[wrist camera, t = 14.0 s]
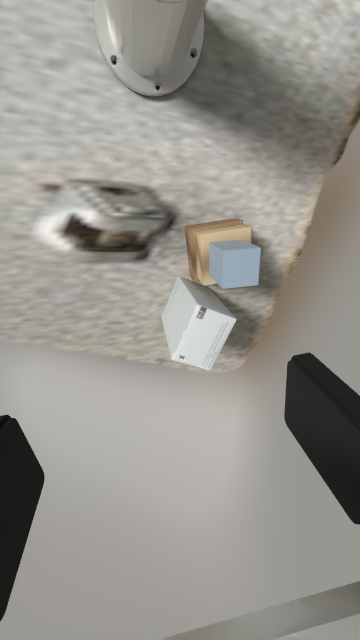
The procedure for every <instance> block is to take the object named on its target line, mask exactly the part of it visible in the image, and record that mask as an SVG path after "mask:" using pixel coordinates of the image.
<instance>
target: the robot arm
mask: <svg viewBox="0 0 360 640" xmlns="http://www.w3.org/2000/svg"><path fill="white" fill-rule="evenodd" d="M207 1H208V0H94V3H93V18H94V26H95V32H96V37H97V41H98V44H99V47H100V50H101V53H102V55H103V57H104V59H105V61H106V63H107V65H108V66H109V68H110V69H111V71H112V72H113V73H114V75H115V76H116V77H117V78H118V79H119V80H120V81H121V82H122V83H123V84H124V85H125V86H127V87H128V88H130V89H131V90H133V91H135V92H137V93H139V94H142V95H147V96H163V95H166V94H169V93H171V92H173V91H175V90H177V89H178V88H179V87H180V86H182V85H183V84H184V83H185V82H186V81H187V79H188V78H189V76H190V75H191V74H192V72H193V70H194V68H195V66H196V64H197V62H198V59H199V57H200V53H201V49H202V44H203V37H204V18H203V11H204V8H205V6H206V3H207ZM191 54H193V55H194V58H193V57H191ZM113 61H116V62H117V64H116V65H113V63H112V62H113ZM156 86H159V88H160V89H159V90H157V89H156ZM284 416H285V422H286V424H287V426H288V428H289V429H290V431H291V432H292V434H293V435H294V437H295V438H296V440H297V441H298V443H299V444H300V445H301V447H302V449H303V450H304V452H305V453H306V454H307V456H308V458H309V459H310V460H311V462H312V463H313V465H314V466H315V468H316V469H317V471H318V472H319V474H320V475H321V476H322V478H323V480H324V481H325V482H326V484H327V486H328V487H329V489H330V490H331V491H332V493H333V494H334V496H335V497H336V499H337V500H338V502H339V503H340V505H341V506H342V507H343V509H344V511H345V512H346V514H347V515H348V516H349V518H350V519H351V520H352V521H353V522H354V523H355V524H360V396H359V395H358V394H357V393H356V392H355V391H354V390H352V389H351V388H350V387H349V386H348V385H347V384H346V383H344V382H343V381H342V380H341V379H340V378H339V377H338V376H336V375H335V374H334V373H333V372H332V371H331V370H330V369H328V368H327V367H326V366H325V365H324V364H323V363H322V362H320V361H319V360H318V359H317V358H316V357H315V356H314V355H313V354H311V353H305V354H300V355H295V356H293V357H292V359H291V361H289V362H288V365H287V381H286V399H285V415H284ZM43 484H44V472H43V470H42V468H41V466H40V464H39V462H38V460H37V458H36V456H35V454H34V452H33V450H32V449H31V446H30V445H29V443H28V441H27V439H26V437H25V435H24V433H23V431H22V429H21V427H20V425H19V424H18V422H17V420H16V419H15V418H11V417H10V416H9V415H3V416H0V621H1V620H2V618H3V616H4V614H5V611H6V608H7V604H8V601H9V598H10V594H11V591H12V588H13V584H14V581H15V578H16V574H17V571H18V567H19V564H20V561H21V558H22V554H23V551H24V548H25V544H26V541H27V538H28V534H29V531H30V528H31V524H32V520H33V518H34V514H35V511H36V508H37V504H38V501H39V498H40V494H41V491H42V488H43ZM161 640H360V581H359V582H355V583H352V584H348V585H345V586H341V587H338V588H335V589H331V590H328V591H324V592H321V593H317V594H314V595H310V596H307V597H303V598H300V599H297V600H293V601H290V602H286V603H283V604H279V605H276V606H272V607H269V608H265V609H262V610H259V611H255V612H252V613H248V614H245V615H242V616H238V617H235V618H232V619H228V620H225V621H221V622H218V623H215V624H211V625H208V626H204V627H201V628H198V629H195V630H191V631H188V632H185V633H181V634H177V635H174V636H171V637H167V638H164V639H161Z"/></svg>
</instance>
